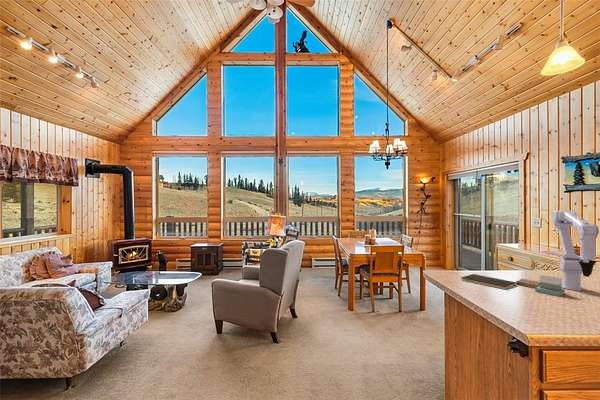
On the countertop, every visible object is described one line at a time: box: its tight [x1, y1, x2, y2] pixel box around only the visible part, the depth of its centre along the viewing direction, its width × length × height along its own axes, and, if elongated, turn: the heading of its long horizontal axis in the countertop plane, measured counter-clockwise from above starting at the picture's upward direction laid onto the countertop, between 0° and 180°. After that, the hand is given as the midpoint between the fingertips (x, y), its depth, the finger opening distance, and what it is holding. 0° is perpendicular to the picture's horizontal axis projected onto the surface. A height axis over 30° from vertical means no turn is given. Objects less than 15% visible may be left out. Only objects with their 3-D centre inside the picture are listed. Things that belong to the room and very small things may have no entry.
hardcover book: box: [460, 273, 517, 290], centre depth 183 cm, size 16×23×2 cm
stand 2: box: [534, 286, 566, 297], centre depth 165 cm, size 10×10×2 cm
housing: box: [539, 274, 563, 291], centre depth 165 cm, size 8×4×6 cm, turn 39°
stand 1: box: [515, 278, 540, 289], centre depth 179 cm, size 10×10×2 cm
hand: (587, 275), depth 160 cm, fingers open, 7 cm apart
